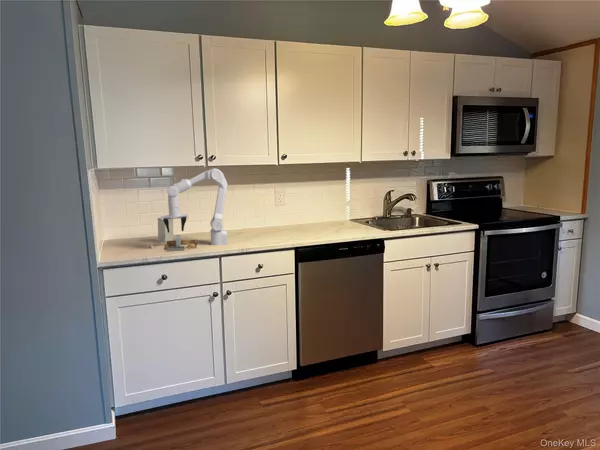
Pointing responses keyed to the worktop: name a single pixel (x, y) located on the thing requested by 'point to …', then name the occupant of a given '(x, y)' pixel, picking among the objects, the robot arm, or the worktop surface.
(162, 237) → the skincare box
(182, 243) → the wooden tray
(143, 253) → the worktop surface
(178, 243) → the grey flat block
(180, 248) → the holder
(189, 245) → the offcut
